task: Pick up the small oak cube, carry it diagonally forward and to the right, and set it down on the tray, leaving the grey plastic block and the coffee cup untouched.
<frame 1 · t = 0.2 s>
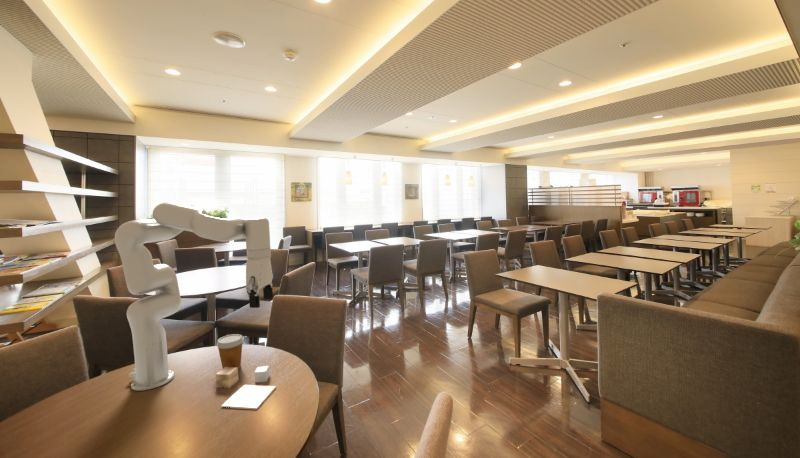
hand: (261, 302, 111), 30 cm above the table, fingers open, 9 cm apart
disposable coffee cup: (231, 368, 128), on the table
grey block: (262, 379, 119), on the table
oak cube: (227, 384, 116), on the table
tray: (250, 397, 108), on the table
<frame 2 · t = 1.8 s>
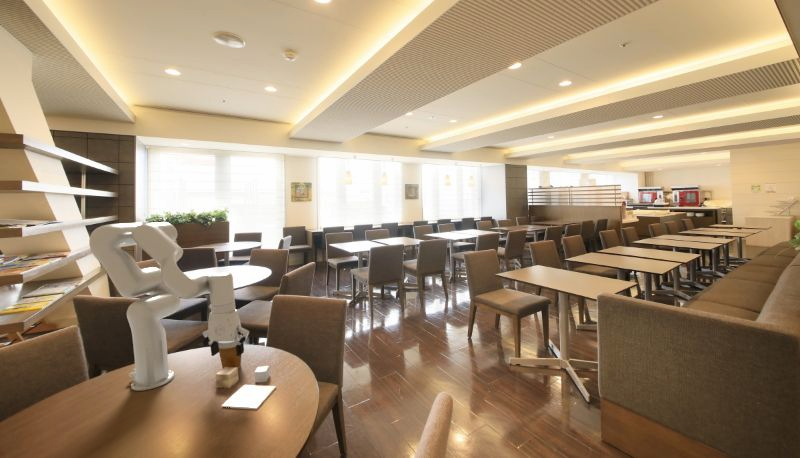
hand: (227, 354, 115), 11 cm above the table, fingers open, 9 cm apart
nothing on the table moved.
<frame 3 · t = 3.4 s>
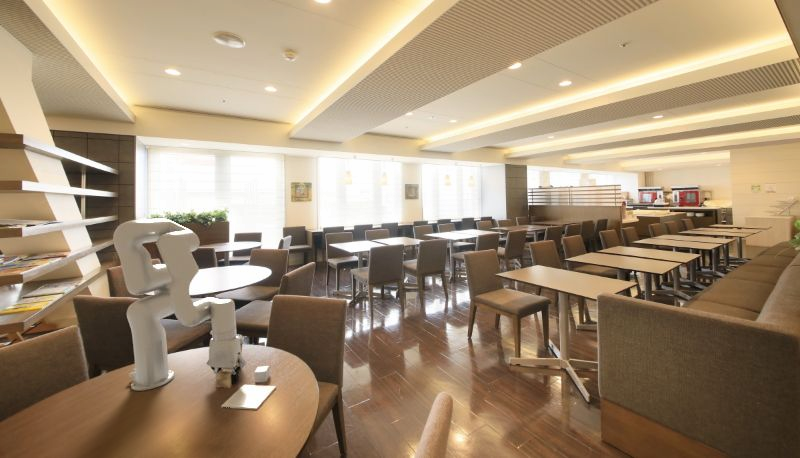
hand: (227, 382, 116), 0 cm above the table, fingers closed on oak cube, 5 cm apart
oak cube: (227, 383, 116), on the table, touching gripper
everything else where it was.
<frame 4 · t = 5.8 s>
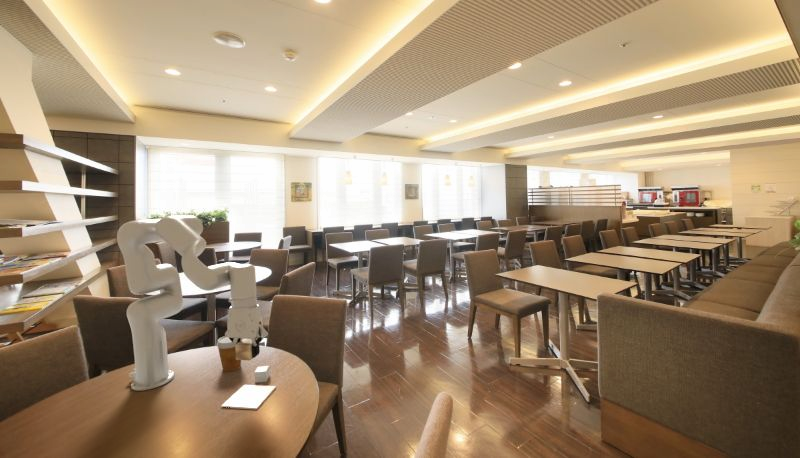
hand: (247, 355, 107), 15 cm above the table, fingers closed on oak cube, 5 cm apart
oak cube: (247, 356, 107), point 14 cm above the table, touching gripper
everything else where it was.
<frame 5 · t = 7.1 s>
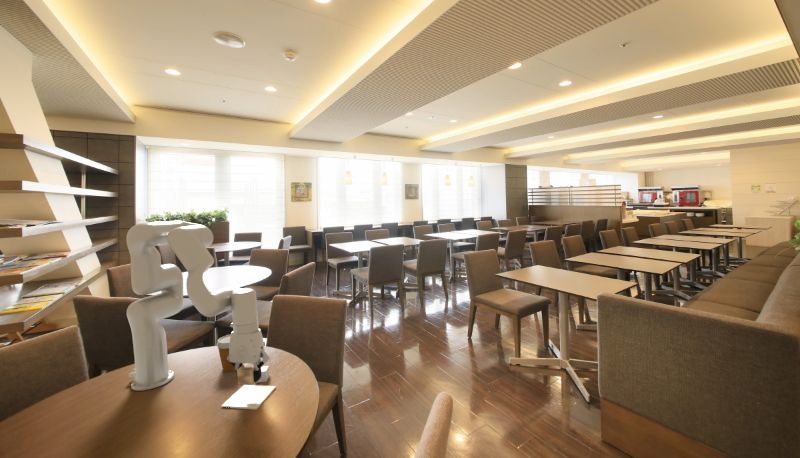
hand: (249, 379, 107), 6 cm above the table, fingers closed on oak cube, 5 cm apart
oak cube: (249, 380, 107), point 6 cm above the table, touching gripper
everything else where it was.
when the fingers open (2 cm above the table, at t = 8.3 s): oak cube drops 1 cm, resting on tray.
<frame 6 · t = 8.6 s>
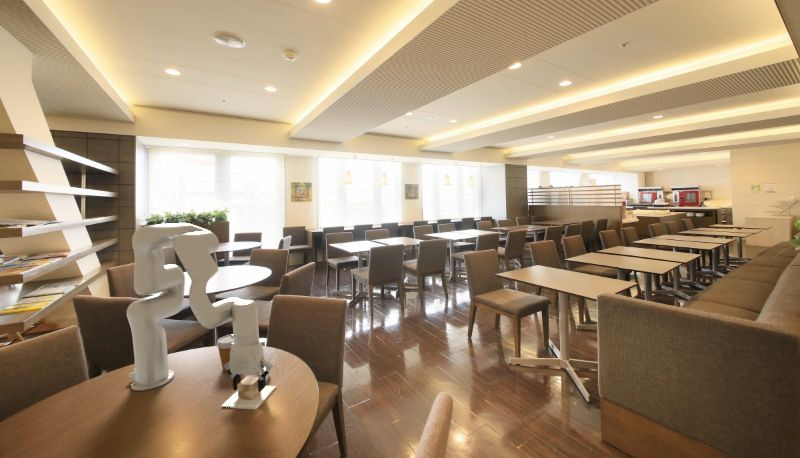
hand: (249, 388, 107), 3 cm above the table, fingers open, 8 cm apart
oak cube: (249, 395, 108), point 1 cm above the table, touching tray
everything else where it was.
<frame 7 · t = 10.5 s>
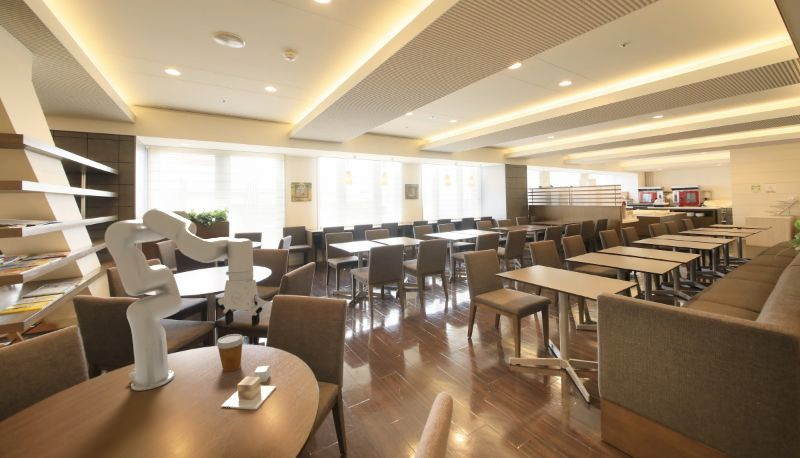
hand: (242, 324, 110), 24 cm above the table, fingers open, 9 cm apart
nothing on the table moved.
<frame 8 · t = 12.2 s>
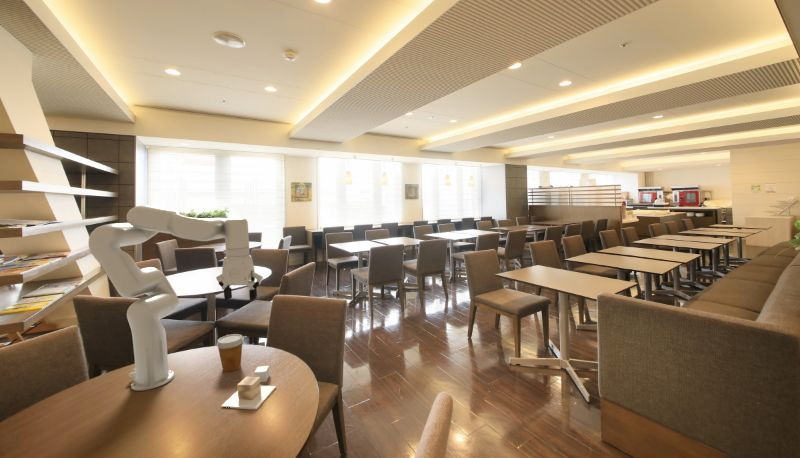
hand: (240, 299, 116), 30 cm above the table, fingers open, 9 cm apart
nothing on the table moved.
at the end: oak cube inside the target area on the tray (0.1 cm from its centre), point 0.7 cm above the tray's base; oak cube tilted 0°; the gripper is holding nothing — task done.
